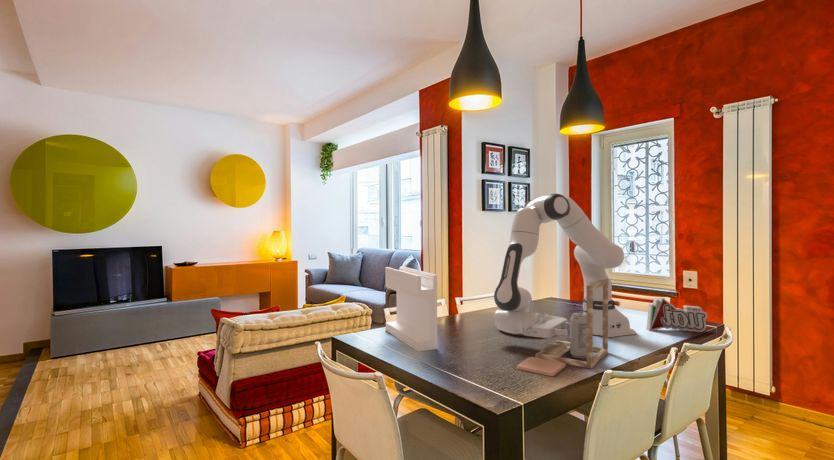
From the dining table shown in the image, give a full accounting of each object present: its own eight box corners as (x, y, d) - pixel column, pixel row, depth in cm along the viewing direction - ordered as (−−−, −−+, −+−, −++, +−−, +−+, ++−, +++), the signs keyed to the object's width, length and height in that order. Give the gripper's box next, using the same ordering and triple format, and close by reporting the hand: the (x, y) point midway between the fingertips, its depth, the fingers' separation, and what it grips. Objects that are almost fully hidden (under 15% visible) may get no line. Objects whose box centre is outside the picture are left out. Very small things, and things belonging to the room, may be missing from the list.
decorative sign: (701, 335, 191) (705, 301, 191) (704, 337, 189) (708, 302, 188) (646, 329, 193) (649, 295, 193) (648, 330, 191) (652, 296, 190)
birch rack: (607, 352, 160) (608, 278, 159) (591, 368, 142) (591, 285, 141) (556, 343, 171) (557, 274, 170) (535, 358, 153) (535, 281, 153)
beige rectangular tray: (570, 348, 164) (570, 344, 164) (557, 358, 152) (557, 354, 152) (551, 345, 168) (551, 341, 168) (536, 355, 156) (537, 350, 156)
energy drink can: (580, 353, 159) (580, 312, 158) (592, 358, 153) (592, 315, 153) (566, 354, 157) (566, 313, 156) (577, 359, 151) (577, 316, 151)
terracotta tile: (565, 366, 144) (565, 363, 144) (552, 376, 135) (552, 373, 135) (530, 359, 151) (530, 356, 151) (516, 368, 142) (516, 365, 142)
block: (437, 348, 164) (437, 274, 164) (417, 351, 161) (417, 275, 161) (402, 328, 196) (402, 266, 196) (385, 330, 193) (385, 267, 193)
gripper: (524, 321, 156) (562, 327, 148) (544, 312, 172) (580, 316, 164) (524, 339, 156) (562, 345, 148) (544, 327, 173) (580, 333, 164)
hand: (572, 330), depth 156 cm, fingers open, 8 cm apart
